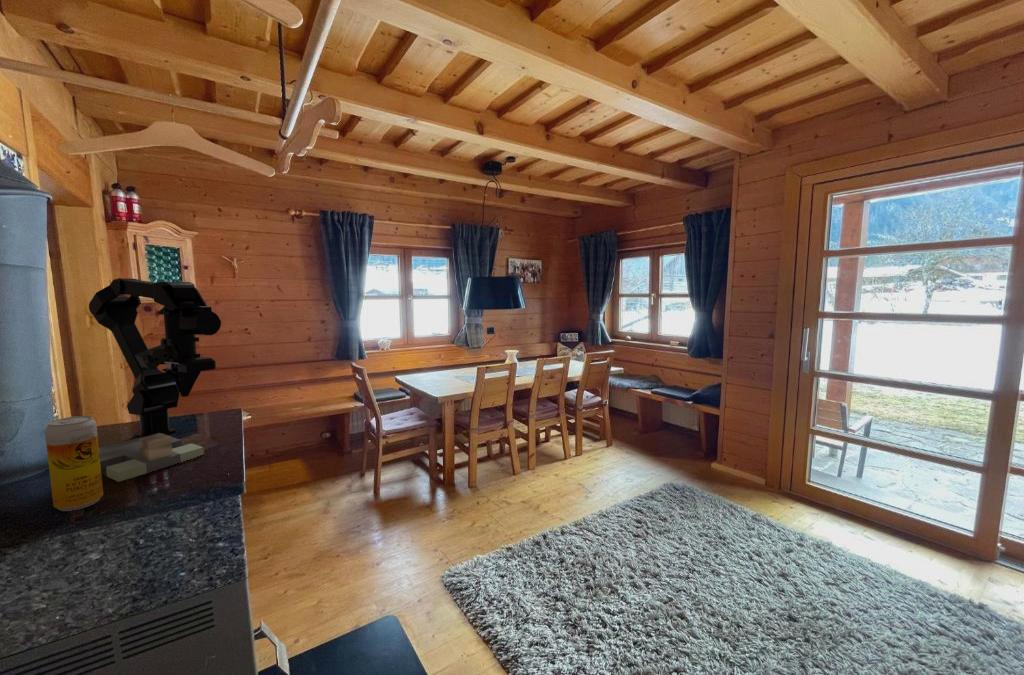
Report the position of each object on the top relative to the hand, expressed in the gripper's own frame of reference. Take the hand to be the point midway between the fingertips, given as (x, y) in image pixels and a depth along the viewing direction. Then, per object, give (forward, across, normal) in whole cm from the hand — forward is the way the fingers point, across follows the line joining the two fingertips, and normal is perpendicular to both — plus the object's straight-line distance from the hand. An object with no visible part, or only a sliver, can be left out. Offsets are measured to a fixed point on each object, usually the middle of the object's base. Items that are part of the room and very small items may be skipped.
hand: (185, 396), depth 104 cm
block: (+9, +12, -11) cm, 19 cm away
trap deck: (+11, +5, -11) cm, 17 cm away
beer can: (+11, +20, -26) cm, 35 cm away
